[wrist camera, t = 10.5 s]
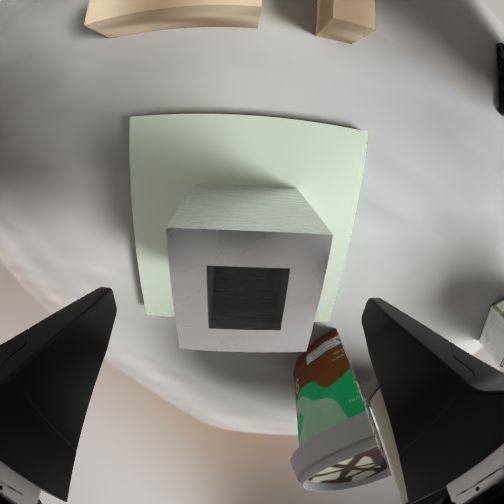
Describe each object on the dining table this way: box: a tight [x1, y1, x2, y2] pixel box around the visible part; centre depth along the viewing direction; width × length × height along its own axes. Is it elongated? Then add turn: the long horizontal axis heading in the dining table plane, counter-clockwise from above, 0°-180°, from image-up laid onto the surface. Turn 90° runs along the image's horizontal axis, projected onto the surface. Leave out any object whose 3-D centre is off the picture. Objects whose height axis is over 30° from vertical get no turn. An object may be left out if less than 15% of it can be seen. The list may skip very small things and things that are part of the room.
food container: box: [291, 329, 391, 491], centre depth 17 cm, size 12×6×10 cm, turn 28°
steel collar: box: [166, 183, 333, 352], centre depth 12 cm, size 5×5×6 cm
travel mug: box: [370, 388, 449, 504], centre depth 16 cm, size 8×8×18 cm
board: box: [129, 114, 368, 322], centre depth 15 cm, size 12×12×1 cm
